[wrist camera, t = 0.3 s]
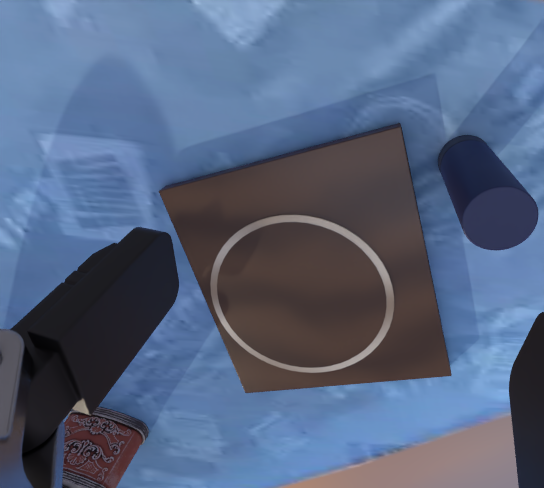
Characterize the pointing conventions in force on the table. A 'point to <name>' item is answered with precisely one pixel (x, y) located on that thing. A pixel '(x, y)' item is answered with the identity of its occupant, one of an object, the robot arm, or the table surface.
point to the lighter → (99, 447)
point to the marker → (486, 195)
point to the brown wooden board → (315, 265)
